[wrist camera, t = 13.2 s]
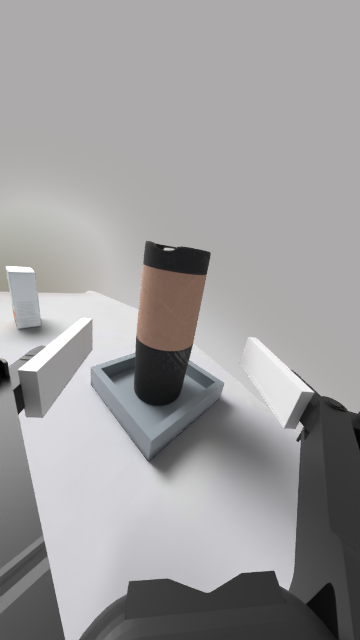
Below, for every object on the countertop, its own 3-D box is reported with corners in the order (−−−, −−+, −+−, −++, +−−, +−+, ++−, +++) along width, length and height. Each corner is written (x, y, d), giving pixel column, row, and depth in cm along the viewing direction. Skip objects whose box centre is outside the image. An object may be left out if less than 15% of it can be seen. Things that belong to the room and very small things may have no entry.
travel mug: (171, 368, 32) (191, 250, 25) (191, 401, 26) (226, 254, 19) (127, 375, 29) (137, 240, 22) (138, 413, 22) (157, 241, 16)
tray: (90, 384, 27) (90, 367, 26) (161, 356, 37) (163, 343, 36) (148, 461, 18) (151, 441, 17) (219, 398, 28) (224, 383, 27)
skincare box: (13, 319, 41) (5, 265, 37) (37, 317, 44) (31, 267, 40) (16, 329, 38) (7, 271, 34) (42, 326, 41) (36, 272, 36)
